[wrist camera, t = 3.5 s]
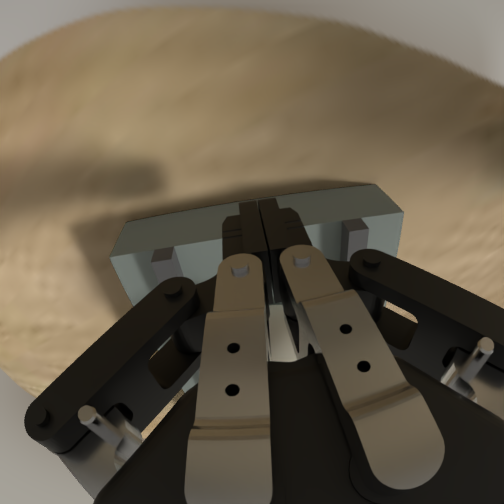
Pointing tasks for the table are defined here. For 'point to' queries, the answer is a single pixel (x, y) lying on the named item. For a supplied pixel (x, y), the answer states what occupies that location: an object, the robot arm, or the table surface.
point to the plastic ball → (280, 336)
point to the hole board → (211, 218)
